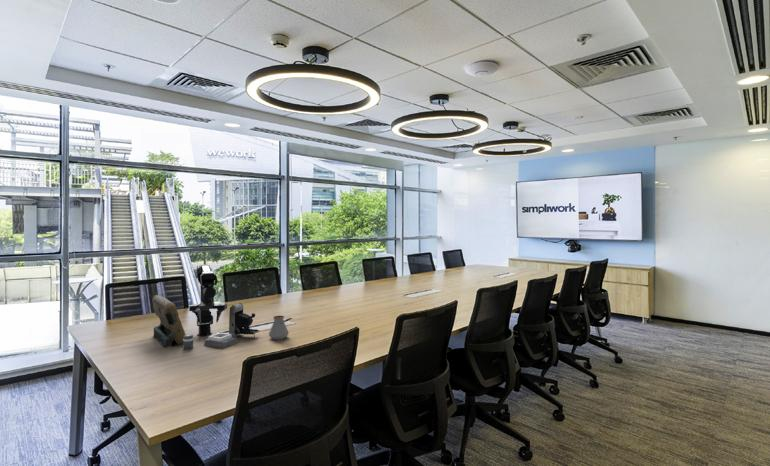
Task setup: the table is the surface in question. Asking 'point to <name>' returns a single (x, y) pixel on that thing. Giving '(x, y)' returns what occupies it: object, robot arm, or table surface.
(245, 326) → the vintage camera
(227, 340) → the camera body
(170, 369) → the table surface
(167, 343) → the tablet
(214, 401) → the table surface
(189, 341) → the lens
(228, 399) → the table surface
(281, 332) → the coffee pot
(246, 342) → the table surface
